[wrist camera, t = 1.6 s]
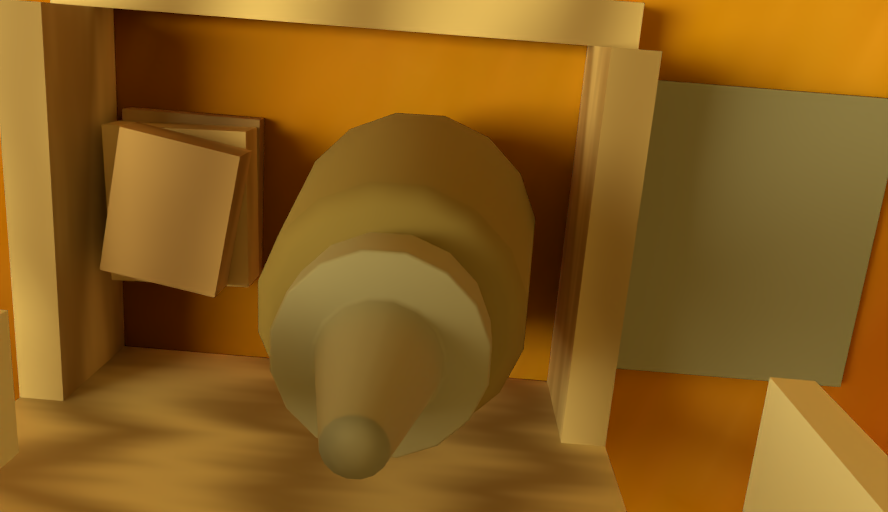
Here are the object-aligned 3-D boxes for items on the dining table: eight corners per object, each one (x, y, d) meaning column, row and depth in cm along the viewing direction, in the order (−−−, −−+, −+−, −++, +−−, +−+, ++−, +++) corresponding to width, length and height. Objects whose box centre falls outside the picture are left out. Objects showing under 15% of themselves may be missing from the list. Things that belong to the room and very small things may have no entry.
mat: (594, 361, 31) (596, 366, 31) (632, 78, 29) (635, 78, 28) (834, 381, 31) (840, 386, 31) (898, 99, 28) (905, 100, 28)
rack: (89, 377, 32) (-123, 566, 21) (69, -40, 28) (-211, -94, 17) (580, 418, 32) (642, 632, 21) (635, 4, 28) (752, -18, 16)
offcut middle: (128, 268, 30) (111, 279, 29) (119, 120, 29) (101, 124, 27) (259, 275, 30) (248, 287, 29) (256, 127, 29) (245, 131, 27)
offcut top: (118, 258, 29) (99, 269, 27) (137, 122, 27) (119, 126, 26) (227, 284, 29) (214, 297, 27) (252, 150, 27) (239, 156, 26)
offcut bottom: (142, 257, 32) (127, 267, 30) (138, 105, 30) (121, 108, 29) (267, 267, 32) (257, 278, 30) (269, 115, 30) (259, 119, 29)
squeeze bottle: (397, 57, 29) (286, 87, 11) (572, 191, 30) (715, 408, 12) (273, 230, 30) (14, 485, 13) (441, 350, 32) (407, 733, 14)
